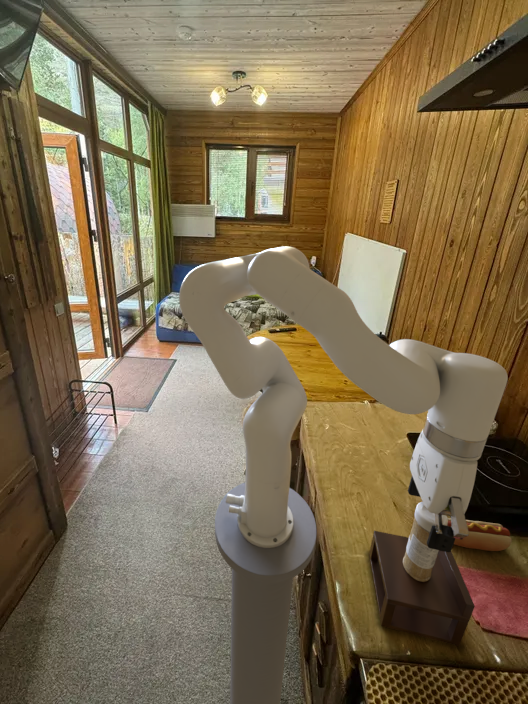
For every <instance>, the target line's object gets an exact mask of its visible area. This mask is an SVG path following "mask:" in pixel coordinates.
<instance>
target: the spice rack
mask: <svg viewBox="0 0 528 704" xmlns="http://www.w3.org/2000/svg"><path fill="white" fill-rule="evenodd" d="M408 539H409V536H408V537H407V536H403V535H399V534H392V533H388V532H384V531H380V530H379V531H377V530H373V534H372V538H371V543H370V547H369V548H370V549H369V553H368V556H369V557H368V558H369V565H370V570H371V576H372V582H373V587H374V591H375V592H374V593H375V599H376V604H377V609H378V615H379V621H380V626H381V627H384V628H388V629H392V630H395V631H399V632H403V633H407V634H410V635H415V636H419V637H422V638H426V639H430V640H434V641H438V642H441V643H445V644H448V645H453V646H457V647H460V646H461V643H462V641H463V637H464V636H465V632H466V629H467V628H468V625H469V622H470V619H471V617H472V615H473V613H474V610H475V607H476V606H475V603H474V600H473V598H472V596H471V594H470V592H469V589H468V587H467V585H466V582H465V580H464V578H463V575H462V573H461V571H460V568H459V566H458V563H457V561H456V559H455V556H454V555H453V551H451V552H443V551H438V554H437V557H436V561H435V564H434V566H433V568H432V572H431V578H430V579H429V580H428V581H426V582H422V581H417V580H416V579H414V578H413V577H411V576H410V575H409V574H408V573H407V571H406V570H405V568H404V565H403V558H404V556H405V553H406V547H407V543H408Z"/></svg>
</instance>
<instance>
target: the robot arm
mask: <svg viewBox="0 0 528 704" xmlns="http://www.w3.org/2000/svg"><path fill="white" fill-rule="evenodd" d="M178 294H179V296H178V300H179V307H180V312H181V315H182V317H183V318H184V320H185V322H186V324H187V325H188V326H189V328H190V329H191V331H192V332H193V334H195V336H196V338H197V339H198V340H199V341H200V343H201V345H202V346H203V348H204V349H205V352H206V353H207V355H208V357H209V359H210V361H211V363H212V364H213V366H214V368H215V370H216V371H217V373H218V374H219V377H220V379H221V380H222V382H223V383H224V385H225V387H226V388H227V389H228V391H229V392H230V393H231V394H232V395H233V396H234V397H236V398H238V399H241V400H246V399H250V398H253V397H254V396H256V395H257V394H258V393H259V392H260V391H261V390H262V393H261V394H260V395H258V397H257V398H256V399H255V400H254V401H253V403H252V404H251V405H250V407H249V408H248V409H247V410H246V413H245V415H244V417H243V419H242V420H243V421H242V435H243V439H244V445H245V477H244V478H245V479H244V483H245V496H244V495H241V497H239V496H235V495H232V494H227V493H226V494H227V498H226V503H229V504H236V505H239V507H240V508H239V507H235V506H231V505H230V506H229V512H230V513H236V514H238V517H237V521H238V527H239V530H240V532H241V533H242V535H243V536H244V538H245V539H246V540H248V541H249V542H250V543H252V544H253V545H256V546H258V547H262V548H273V547H277V546H280V545H282V544H283V543H285V542H286V541H287V540H288V539H289V537H290V535H291V533H292V530H293V515H292V512H291V510H290V508H289V507H288V498H289V488H290V485H291V474H292V473H291V472H292V449H291V441H292V437H293V435H294V432H295V430H296V428H297V427H298V424H299V422H300V421H301V419H302V417H303V415H304V413H305V411H306V410H307V406H308V396H307V394H306V390H305V388H304V386H303V384H302V382H301V381H300V379H299V377H298V375H297V374H296V372H295V370H294V369H293V366H292V365H291V363H290V361H289V360H288V358H287V356H286V355H285V353H284V351H283V350H282V348H281V347H280V346H279V345H278V344H277V343H276V342H274V341H273V340H272V339H270V338H267V337H264V336H255V337H252V338H250V339H249V337H248V336H247V334H246V333H245V331H244V329H243V326H242V325H241V324H240V322H238V320H237V319H236V318H234V316H232V315H231V314H230V313H229V312H227V310H226V309H225V307H226V305H228V304H230V303H233V302H236V301H238V300H240V299H243V298H245V297H249V296H255V295H258V296H259V297H261V298H262V299H263V300H264V301H266V302H267V303H269V304H270V305H271V306H272V307H274V308H276V309H277V310H278V311H280V313H283V314H284V315H285V316H287V317H288V318H289V319H291V320H292V321H293V322H295V323H297V324H298V325H299V326H300V327H301V328H303V329H304V330H306V331H307V332H308V333H309V334H311V335H312V336H313V337H314V338H315V340H316V341H317V342H318V344H319V345H320V347H321V349H322V350H323V351H324V352H325V354H326V355H327V356H328V357H329V359H330V360H331V361H332V363H333V364H334V366H336V368H337V369H338V370H339V371H340V372H341V373H342V374H343V375H344V377H346V378H347V379H348V381H351V382H352V383H353V384H354V385H355V386H357V387H358V388H359V389H360V390H362V391H363V392H364V393H366V394H368V395H369V396H370V397H371V398H373V399H374V400H376V401H377V402H378V403H380V404H382V405H383V406H385V407H387V408H388V409H390V410H393V411H394V412H398V413H399V414H406V415H419V414H423V413H426V412H427V414H426V417H425V422H424V424H423V428H422V429H421V432H420V434H419V436H418V438H417V441H416V444H415V447H414V449H413V452H412V456H411V458H410V462H409V471H410V474H411V478H410V481H409V485H408V489H407V493H408V495H410V496H414V497H419V498H420V499H421V502H423V504H424V506H425V507H426V509H427V510H428V511H429V512H430V513H435V526H432V528H431V531H430V534H429V537H428V540H427V546H428V548H431V549H435V550H439V551H443V552H452V549H453V547H454V542H455V539H456V538H457V539H461V540H462V539H463V538H464V537H467V536H468V535H469V531H468V527H467V523H466V520H467V519H466V515H465V514H466V512H467V510H468V507H469V503H470V501H471V498H472V493H473V489H474V486H475V481H476V477H477V476H476V475H477V469H478V460H480V459H481V457H482V455H483V451H484V449H485V446H486V444H487V441H488V438H489V435H490V432H491V429H492V426H493V424H494V421H495V419H496V415H497V412H498V409H499V407H500V403H501V402H502V398H503V396H504V393H505V390H506V386H507V383H508V379H509V377H508V373H507V370H506V369H505V367H504V366H502V365H501V364H500V363H498V362H497V361H494V360H492V359H490V358H487V357H485V356H482V355H478V354H474V353H467V352H453V351H450V350H447V349H444V348H441V347H438V346H435V345H432V344H430V343H426V342H424V341H420V340H416V339H409V338H402V339H398V340H394V341H393V342H391V343H390V344H388V343H386V341H384V340H383V339H382V338H380V337H379V336H378V335H377V334H376V333H375V332H374V331H372V330H371V329H370V327H369V326H368V325H367V324H366V323H365V322H364V320H363V319H362V318H361V316H360V315H359V313H358V310H357V308H356V306H355V304H354V302H353V300H352V299H351V298H350V296H349V295H348V294H347V293H346V292H345V291H344V290H342V289H341V288H339V287H338V286H336V285H335V284H333V283H332V282H330V281H329V280H327V279H326V278H324V277H323V276H321V275H320V274H318V273H316V272H315V271H314V270H312V269H311V268H310V263H309V259H308V258H307V256H306V255H305V254H304V253H303V252H302V251H301V250H300V249H298V248H296V247H294V246H288V245H287V246H285V245H284V246H279V247H274V248H268V249H265V250H262V251H261V252H257V253H253V254H252V253H251V254H246V255H242V256H238V257H237V256H236V257H232V258H227V259H222V260H221V259H220V260H216V261H211V262H207V263H204V264H200V265H199V266H196V267H195V268H193V269H192V270H190V271H189V272H188V273H187V274H186V275H185V277H184V278H183V280H182V282H181V285H180V288H179V293H178ZM447 507H449V510H448V509H446V508H447ZM442 515H446V516H447V517H450V518H451V526H446V525H443V524H442Z"/></svg>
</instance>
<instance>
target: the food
mask: <svg viewBox="0 0 528 704" xmlns="http://www.w3.org/2000/svg"><path fill="white" fill-rule="evenodd" d="M447 518H448V524H447V526H451V517H447ZM466 523H467V527H468V531H469V535H468V536H467V537H464V538H463V539H462V540H461V539H457V538H456V539H455V542H454V544H453V546H457V547H458V546H459V547H462V548H467V549H474V550H482V551H489V552H499V551H500V552H501V551H503V550H508V548H510V546H511V545H512V542H513V540H512V537H511V532H510V530H509V529H508V528H506V527H504V526H503V524H500V523H493V522H486V521H481V520H480V521H479V520H470V519H466Z"/></svg>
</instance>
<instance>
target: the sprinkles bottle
mask: <svg viewBox="0 0 528 704" xmlns="http://www.w3.org/2000/svg"><path fill="white" fill-rule="evenodd" d="M448 518H449V517H448V516H447V515H442V524H443V525H446V526H447V524H448ZM432 526H435V513H430V512H429V511H428V510H427V509H426V507H425V506H424V504H423V501H421V502H418V503H417V504H416V507H415V510H414V519H413V523H412V526H411V529H410V533H409V536H408V538H409V539H408V543H407V547H406V553H405V556H404V558H403V565H404V568H405V570H406V571H407V573H408V574H409V575H410V576H411V577H413V578H414V579H416V580H417V581H422V582H426V581H428V580H429V579H430V578H431V572H432V568H433V566H434V564H435V561H436V557H437V554H438V551H439V550H435V549H431V548H428V546H427V540H428V537H429V534H430V531H431V528H432Z"/></svg>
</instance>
